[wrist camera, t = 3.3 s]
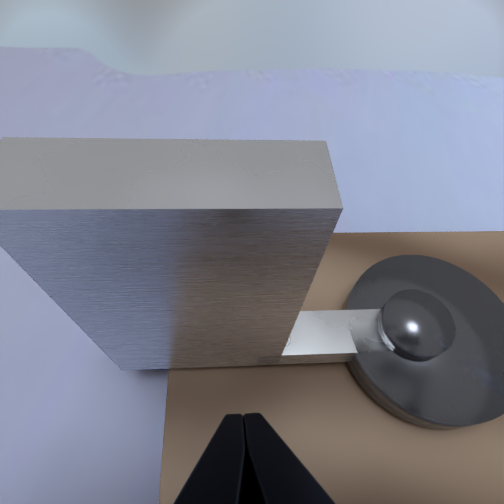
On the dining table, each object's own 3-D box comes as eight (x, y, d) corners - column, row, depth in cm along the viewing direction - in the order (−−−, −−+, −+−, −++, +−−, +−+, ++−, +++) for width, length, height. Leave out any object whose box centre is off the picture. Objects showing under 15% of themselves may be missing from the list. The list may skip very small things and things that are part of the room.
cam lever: (465, 268, 20) (676, 78, 10) (534, 425, 15) (1010, 338, 6) (136, 274, 18) (42, 61, 9) (111, 447, 14) (-124, 382, 5)
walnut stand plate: (724, 623, 14) (774, 637, 12) (152, 682, 12) (142, 705, 11) (512, 244, 23) (528, 231, 22) (182, 248, 22) (179, 234, 21)
